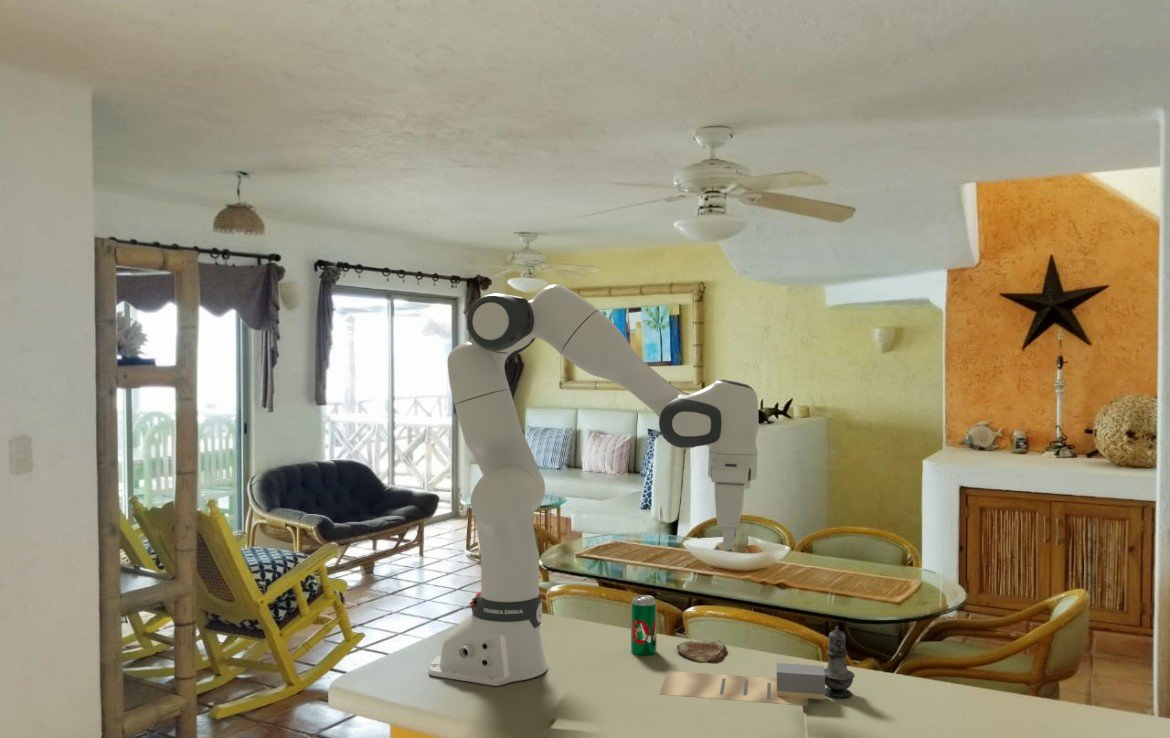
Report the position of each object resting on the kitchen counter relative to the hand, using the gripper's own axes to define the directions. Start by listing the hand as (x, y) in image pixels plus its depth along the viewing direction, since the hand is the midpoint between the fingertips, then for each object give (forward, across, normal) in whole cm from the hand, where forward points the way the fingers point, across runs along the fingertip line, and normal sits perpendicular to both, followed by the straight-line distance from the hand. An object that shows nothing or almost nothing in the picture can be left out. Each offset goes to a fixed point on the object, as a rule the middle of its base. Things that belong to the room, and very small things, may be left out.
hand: (729, 543), depth 158 cm
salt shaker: (+25, +2, +20) cm, 32 cm away
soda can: (+26, -10, -17) cm, 32 cm away
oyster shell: (+26, -13, -6) cm, 30 cm away
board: (+25, +6, +2) cm, 26 cm away
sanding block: (+24, +6, +13) cm, 28 cm away
